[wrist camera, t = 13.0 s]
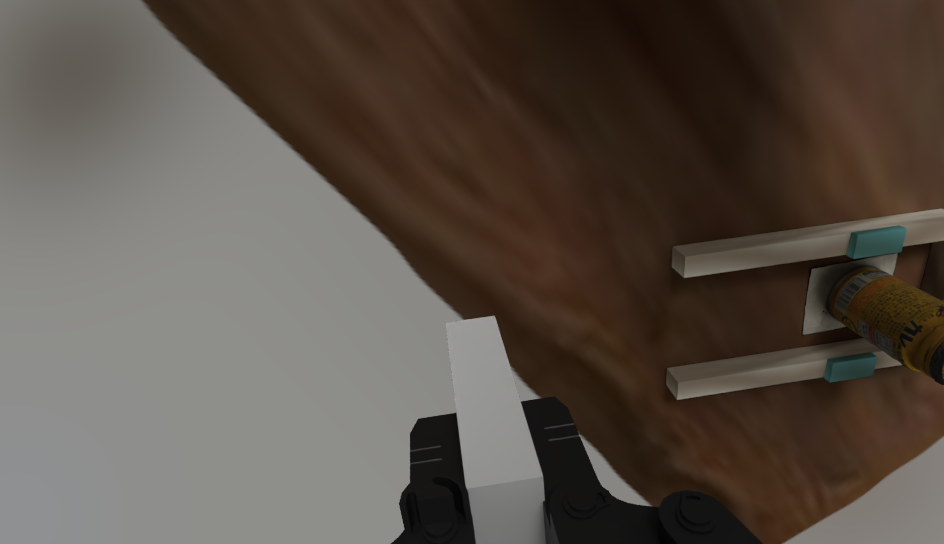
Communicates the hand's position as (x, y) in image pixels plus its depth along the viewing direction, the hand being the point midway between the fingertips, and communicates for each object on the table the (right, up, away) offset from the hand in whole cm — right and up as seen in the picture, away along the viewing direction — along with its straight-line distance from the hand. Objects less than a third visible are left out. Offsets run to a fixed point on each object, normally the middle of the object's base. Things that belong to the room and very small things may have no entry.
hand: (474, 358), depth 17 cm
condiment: (+36, +1, +36) cm, 51 cm away
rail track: (+32, 0, +36) cm, 48 cm away
